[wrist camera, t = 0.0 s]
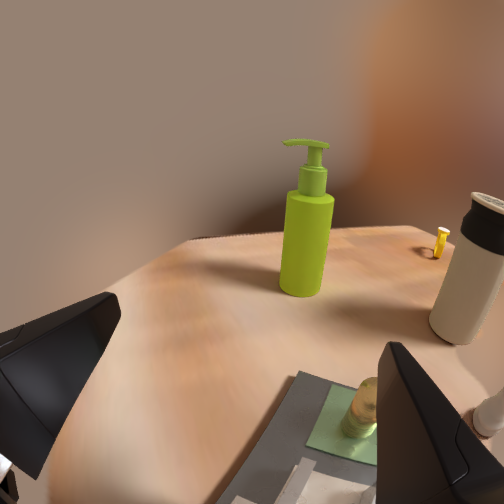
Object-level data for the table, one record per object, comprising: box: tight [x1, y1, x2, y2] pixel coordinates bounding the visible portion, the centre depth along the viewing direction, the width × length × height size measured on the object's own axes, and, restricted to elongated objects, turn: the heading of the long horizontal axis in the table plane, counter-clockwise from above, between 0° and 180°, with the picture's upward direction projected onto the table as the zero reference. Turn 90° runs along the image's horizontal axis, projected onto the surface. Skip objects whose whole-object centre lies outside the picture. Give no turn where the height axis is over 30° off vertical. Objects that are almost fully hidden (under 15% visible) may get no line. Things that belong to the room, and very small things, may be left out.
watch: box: [434, 227, 450, 259], centre depth 50 cm, size 6×3×6 cm, turn 146°
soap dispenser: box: [279, 139, 334, 297], centre depth 36 cm, size 6×7×20 cm
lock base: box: [215, 371, 378, 504], centre depth 14 cm, size 20×14×6 cm
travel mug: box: [429, 192, 504, 345], centre depth 27 cm, size 8×8×18 cm
